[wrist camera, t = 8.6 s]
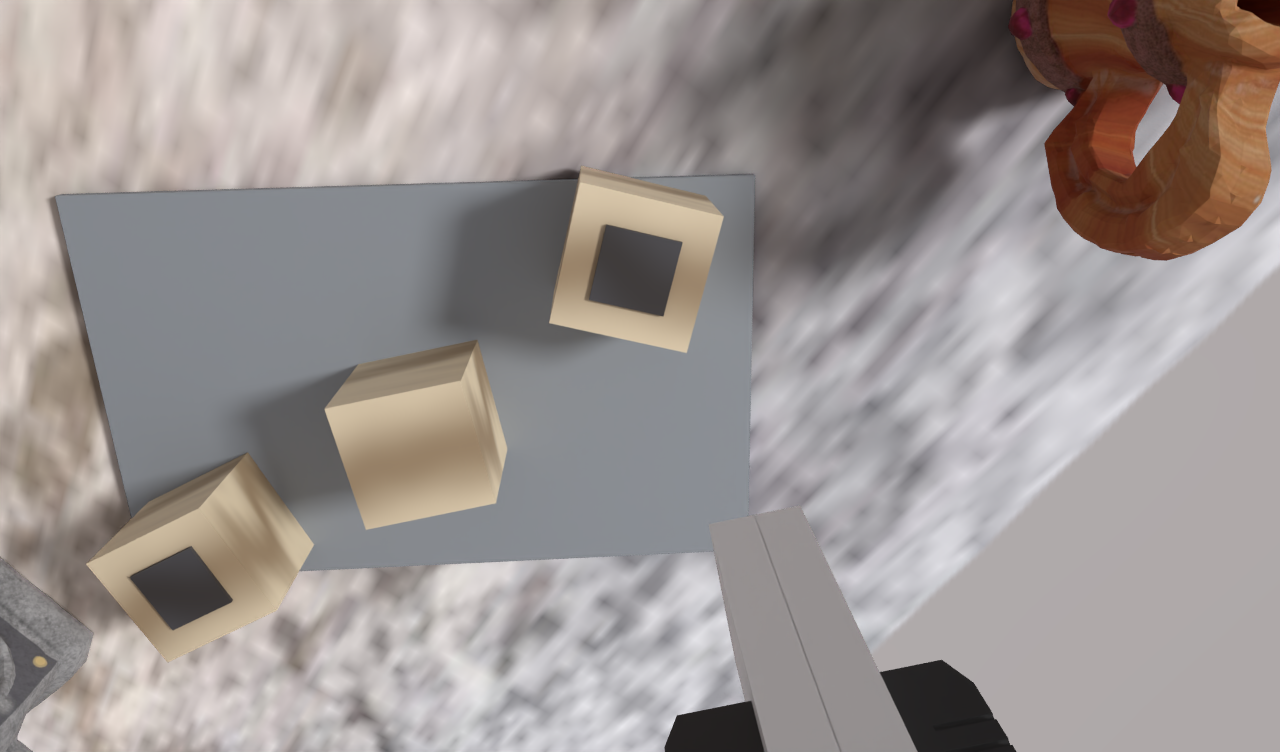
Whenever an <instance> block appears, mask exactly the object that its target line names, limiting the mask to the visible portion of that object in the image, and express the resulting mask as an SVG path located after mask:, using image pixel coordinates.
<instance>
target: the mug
mask: <svg viewBox="0 0 1280 752" xmlns="http://www.w3.org/2000/svg"><path fill="white" fill-rule="evenodd" d="M1008 28H1009V30H1010V32H1011V34H1012V35H1013V36H1014V37H1015V40H1016V44H1017V48H1018V50H1019V51H1020V53H1021V55H1022V56H1023V58H1024V61H1025V64H1026V65H1027V67H1028V69H1029V70H1030V72H1031V73H1032V75H1033V76H1034V78H1035V79H1036V80H1037V81H1039V82H1041V83H1042V84H1044V85H1045V86H1047V87H1050V88H1054V89H1058V90H1062V91H1063V92H1065V96H1066V98H1067V100H1068V102H1070V103H1071V104H1072V105H1073V106H1074V108H1073V109H1072V110H1071V112H1070V113H1069V114H1068V115H1067V116H1066V117H1065V118H1064V119H1063V120H1062V121H1061V123H1060V124H1059V125H1058V126H1057V127H1056V128H1055V129H1054V130H1053V132H1052V133H1051V135H1050V136H1049V138H1048V139H1047V141H1046V142H1045V143H1044V144H1045V150H1046V156H1047V162H1048V168H1049V174H1050V180H1051V186H1052V189H1053V192H1054V195H1055V199H1056V205H1057V209H1058V211H1059V212H1060V214H1061V215H1062V217H1063V219H1064V220H1065V221H1066V222H1067V223H1068V224H1069V226H1070V227H1071V228H1072V229H1073V230H1074V231H1075V232H1076V233H1077V234H1079V235H1080V236H1081V237H1083V238H1084V239H1086V240H1088V241H1090V242H1092V243H1094V244H1096V245H1097V246H1099V247H1100V248H1102V249H1106V250H1109V251H1113V252H1116V253H1121V254H1125V255H1131V256H1141V257H1142V258H1147V259H1152V260H1166V261H1167V260H1170V259H1174V258H1177V257H1181V256H1185V255H1188V254H1192V253H1194V252H1196V251H1198V250H1200V249H1202V248H1204V247H1206V246H1208V245H1210V244H1212V243H1214V242H1216V241H1217V240H1219V239H1221V238H1222V237H1224V236H1226V235H1227V234H1229V233H1231V232H1232V231H1234V230H1236V229H1237V228H1239V227H1241V226H1242V224H1243V223H1244V222H1245V221H1246V220H1247V219H1248V217H1249V216H1250V215H1251V214H1252V213H1253V211H1254V210H1255V209H1256V208H1257V207H1258V206H1259V204H1260V203H1261V202H1262V199H1263V196H1264V194H1265V191H1266V188H1267V186H1268V183H1269V179H1270V174H1271V163H1270V155H1269V149H1268V143H1267V137H1266V129H1265V128H1266V124H1267V120H1268V116H1269V111H1270V107H1271V104H1272V101H1273V98H1274V95H1275V93H1276V90H1277V87H1278V84H1279V81H1280V0H1013V4H1012V13H1011V18H1010V21H1009V25H1008ZM1163 83H1164V84H1165V85H1166V87H1167V89H1168V92H1169V94H1170V96H1171V97H1172V99H1173V100H1175V101H1176V102H1177V103H1179V104H1180V106H1179V108H1178V111H1177V114H1176V116H1175V118H1174V119H1173V121H1172V123H1171V124H1170V126H1169V127H1168V129H1167V130H1166V131H1165V132H1164V134H1163V135H1162V136H1161V137H1160V139H1159V140H1158V141H1157V142H1156V143H1155V145H1154V146H1153V147H1152V148H1151V149H1150V150H1149V152H1148V153H1147V154H1146V155H1145V157H1144V158H1143V159H1142V161H1141V162H1140V163H1139V165H1138V166H1137V168H1136V165H1135V162H1134V157H1133V153H1132V151H1133V150H1134V144H1135V132H1136V129H1137V127H1138V124H1139V123H1140V121H1141V120H1142V118H1143V116H1144V115H1145V113H1146V111H1147V109H1148V107H1149V105H1150V104H1151V102H1152V100H1153V99H1154V97H1155V96H1156V94H1157V93H1158V91H1159V90H1160V88H1161V86H1162V85H1163Z"/></svg>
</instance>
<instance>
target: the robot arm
mask: <svg viewBox="0 0 1280 752" xmlns="http://www.w3.org/2000/svg"><path fill="white" fill-rule="evenodd" d="M709 529H710V534H711V539H712V544H713V549H714V554H715V559H716V565H717V570H718V575H719V580H720V585H721V590H722V595H723V600H724V605H725V611H726V616H727V621H728V626H729V631H730V636H731V641H732V646H733V651H734V656H735V662H736V666H737V670H738V674H739V678H740V682H741V686H742V690H743V694H744V699H745V702H742V703H737V704H732V705H727V706H722V707H717V708H712V709H707V710H702V711H697V712H692V713H687V714H682V715H677V717H676V719H675V722H674V724H673V727H672V730H671V732H670V735H669V737H668V740H667V742H666V745H665V752H1016V750H1015V749H1014V747H1013V745H1010V743H1009V741H1008V737H1007V736H1006V734H1005V733H1004V731H1003V729H1002V728H1001V726H1000V724H999V723H998V721H997V720H996V719H994V717H993V714H992V712H991V710H990V708H989V707H988V705H987V704H986V702H985V700H984V699H983V697H982V696H981V694H980V692H979V691H978V689H977V687H976V686H975V684H974V683H973V682H972V681H970V680H969V679H968V678H966V677H965V676H963V675H962V674H961V673H959V672H958V671H957V670H955V669H953V668H952V667H951V666H950V665H948V664H947V663H945V662H944V661H943V660H938V661H934V662H928V663H923V664H919V665H914V666H909V667H904V668H899V669H894V670H889V671H884V672H879V670H878V668H877V666H876V664H875V662H874V660H873V657H872V655H871V653H870V651H869V649H868V647H867V645H866V643H865V641H864V639H863V636H862V634H861V632H860V630H859V628H858V626H857V624H856V622H855V620H854V618H853V615H852V613H851V611H850V609H849V607H848V605H847V603H846V601H845V599H844V597H843V594H842V592H841V590H840V588H839V586H838V584H837V582H836V580H835V578H834V576H833V574H832V571H831V569H830V567H829V565H828V563H827V561H826V559H825V557H824V555H823V553H822V550H821V548H820V546H819V544H818V542H817V540H816V538H815V536H814V534H813V532H812V529H811V527H810V525H809V523H808V521H807V519H806V517H805V515H804V513H803V511H802V508H801V506H796V507H791V508H786V509H781V510H776V511H771V512H766V513H761V514H756V515H751V516H746V517H742V518H737V519H732V520H727V521H722V522H717V523H712V524H709Z"/></svg>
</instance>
